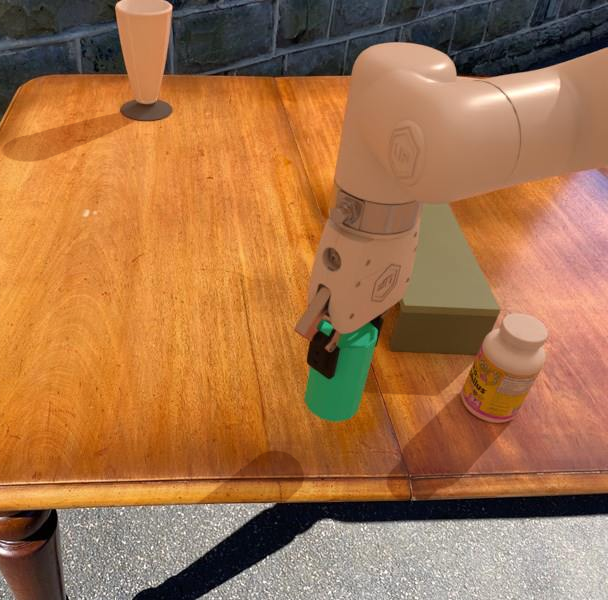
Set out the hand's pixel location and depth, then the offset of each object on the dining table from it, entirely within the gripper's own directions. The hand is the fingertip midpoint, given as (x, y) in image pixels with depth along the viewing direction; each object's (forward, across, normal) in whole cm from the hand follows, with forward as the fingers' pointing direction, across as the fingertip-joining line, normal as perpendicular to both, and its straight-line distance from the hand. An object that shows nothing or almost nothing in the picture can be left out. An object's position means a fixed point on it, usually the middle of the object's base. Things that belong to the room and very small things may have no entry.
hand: (341, 354), depth 65 cm
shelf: (+12, +31, +10) cm, 35 cm away
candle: (+7, 0, 0) cm, 7 cm away
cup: (+11, +37, +84) cm, 92 cm away
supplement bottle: (+13, +19, -10) cm, 25 cm away
